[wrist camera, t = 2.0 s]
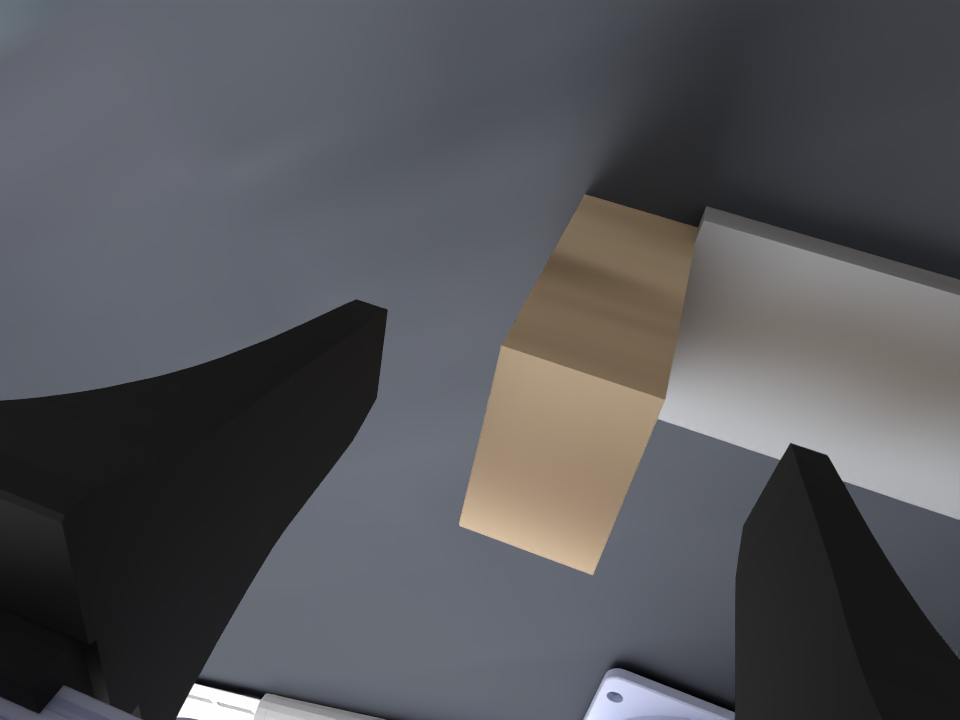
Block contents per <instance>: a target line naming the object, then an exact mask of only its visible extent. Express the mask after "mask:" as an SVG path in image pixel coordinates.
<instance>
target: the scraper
mask: <svg viewBox="0 0 960 720" xmlns="http://www.w3.org/2000/svg"><path fill="white" fill-rule="evenodd" d="M657 419H660V420H663V421H666V422H669V423H672V424H675V425H678V426H681V427H684V428H687V429H690V430H693V431H696V432H699V433H702V434H705V435H708V436H711V437H714V438H717V439H720V440H723V441H726V442H729V443H732V444H735V445H738V446H740V447H743V448H746V449H749V450H752V451H755V452H758V453H761V454H764V455H767V456H770V457H773V458H776V459H779V460H781V458H782V456H783V455H784V453H785V451H786V449H787V448H788V446H789V444H790V443H792V444H796V445H799V446H802V447H805V448H808V449H811V450H814V451H817V452H820V453H823V454H826V455H828V457H829V458H830V460H831V462H832V463H833V465H834V467H835V469H836V470H837V472H838V474H839V476H840V478H841V479H842V481H845V482H848V483H851V484H854V485H857V486H860V487H863V488H866V489H869V490H872V491H875V492H878V493H881V494H884V495H886V496H889V497H892V498H895V499H898V500H901V501H904V502H907V503H910V504H913V505H916V506H919V507H922V508H925V509H928V510H931V511H934V512H937V513H940V514H943V515H946V516H949V517H952V518H955V519H958V520H960V280H959V279H955V278H952V277H948V276H945V275H942V274H938V273H935V272H931V271H928V270H924V269H921V268H917V267H914V266H911V265H907V264H904V263H900V262H897V261H893V260H890V259H887V258H883V257H880V256H876V255H873V254H869V253H866V252H862V251H859V250H856V249H852V248H849V247H845V246H842V245H838V244H835V243H832V242H828V241H825V240H821V239H818V238H814V237H811V236H807V235H804V234H801V233H797V232H794V231H790V230H787V229H783V228H780V227H777V226H773V225H770V224H766V223H763V222H759V221H756V220H752V219H749V218H746V217H742V216H739V215H735V214H732V213H728V212H725V211H721V210H718V209H715V208H711V207H708V206H706V208H705V211H704V213H703V216H702V218H701V221H700V224H699V226H698V227H694V226H691V225H688V224H684V223H681V222H677V221H674V220H671V219H667V218H664V217H661V216H657V215H654V214H650V213H647V212H644V211H640V210H637V209H633V208H630V207H627V206H623V205H620V204H617V203H613V202H610V201H606V200H603V199H600V198H596V197H593V196H589V195H586V194H585V195H584V197H583V198H582V200H581V202H580V204H579V206H578V208H577V209H576V211H575V213H574V215H573V217H572V218H571V220H570V222H569V224H568V226H567V228H566V229H565V231H564V233H563V235H562V237H561V238H560V240H559V242H558V244H557V246H556V248H555V249H554V251H553V253H552V255H551V257H550V258H549V260H548V262H547V264H546V266H545V268H544V269H543V271H542V273H541V275H540V277H539V278H538V280H537V282H536V284H535V286H534V288H533V289H532V291H531V293H530V295H529V297H528V298H527V300H526V302H525V304H524V306H523V307H522V309H521V311H520V313H519V315H518V317H517V318H516V320H515V322H514V324H513V326H512V327H511V329H510V331H509V333H508V335H507V337H506V338H505V340H504V342H503V344H502V346H501V350H500V354H499V358H498V363H497V367H496V371H495V375H494V379H493V384H492V388H491V392H490V396H489V400H488V405H487V409H486V413H485V417H484V421H483V426H482V430H481V434H480V438H479V442H478V447H477V451H476V455H475V459H474V463H473V468H472V472H471V476H470V480H469V484H468V489H467V493H466V497H465V501H464V505H463V510H462V514H461V518H460V522H459V526H462V527H464V528H467V529H470V530H472V531H475V532H478V533H481V534H483V535H486V536H489V537H491V538H494V539H497V540H499V541H502V542H505V543H507V544H510V545H513V546H516V547H518V548H521V549H524V550H526V551H529V552H532V553H534V554H537V555H540V556H542V557H545V558H548V559H551V560H553V561H556V562H559V563H561V564H564V565H567V566H569V567H572V568H575V569H577V570H580V571H583V572H586V573H588V574H591V575H593V573H594V571H595V568H596V566H597V564H598V561H599V559H600V556H601V554H602V552H603V549H604V547H605V544H606V542H607V539H608V537H609V535H610V532H611V530H612V527H613V525H614V523H615V520H616V518H617V515H618V513H619V511H620V508H621V506H622V503H623V501H624V498H625V496H626V494H627V491H628V489H629V486H630V484H631V482H632V479H633V477H634V474H635V472H636V469H637V467H638V465H639V462H640V460H641V457H642V455H643V453H644V450H645V448H646V445H647V443H648V440H649V438H650V436H651V433H652V431H653V428H654V426H655V424H656V421H657Z"/></svg>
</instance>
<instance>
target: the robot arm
mask: <svg viewBox="0 0 960 720" xmlns="http://www.w3.org/2000/svg"><path fill="white" fill-rule="evenodd" d="M387 311H388V310H387V309H384V308H381V307H378V306H375V305H372V304H369V303H366V302H363V301H360V300H357V299H356V300H354V301H352V302H349V303H347V304H345V305H342V306H340V307H338V308H336V309H334V310H332V311H329V312H327V313H325V314H323V315H321V316H319V317H317V318H315V319H312V320H310V321H308V322H306V323H304V324H301V325H299V326H297V327H295V328H292V329H290V330H288V331H286V332H284V333H281V334H279V335H277V336H275V337H272V338H270V339H268V340H265V341H262V342H260V343H257V344H255V345H252V346H250V347H247V348H244V349H242V350H239V351H237V352H234V353H232V354H229V355H226V356H224V357H221V358H218V359H215V360H212V361H209V362H206V363H203V364H200V365H197V366H194V367H190V368H187V369H183V370H180V371H176V372H173V373H169V374H165V375H162V376H158V377H153V378H149V379H144V380H139V381H135V382H130V383H125V384H121V385H116V386H111V387H107V388H101V389H96V390H89V391H83V392H77V393H70V394H62V395H54V396H47V397H38V398H29V399H18V400H3V401H0V720H176V718H177V716H178V714H179V712H180V710H181V708H182V706H183V704H184V703H185V701H186V699H187V697H188V695H189V693H190V691H191V689H192V687H193V685H194V684H195V682H196V680H197V678H198V676H199V674H200V673H201V671H202V669H203V667H204V665H205V663H206V662H207V660H208V658H209V656H210V654H211V653H212V651H213V649H214V647H215V645H216V643H217V642H218V640H219V638H220V636H221V634H222V633H223V631H224V629H225V627H226V626H227V624H228V622H229V620H230V619H231V617H232V615H233V614H234V612H235V610H236V608H237V607H238V605H239V603H240V601H241V600H242V598H243V596H244V594H245V593H246V591H247V589H248V588H249V586H250V584H251V583H252V581H253V579H254V578H255V576H256V574H257V573H258V571H259V569H260V568H261V566H262V564H263V563H264V561H265V560H266V558H267V556H268V555H269V553H270V551H271V550H272V548H273V546H274V545H275V544H276V542H277V541H278V539H279V538H280V536H281V535H282V533H283V532H284V531H285V529H286V528H287V526H288V525H289V524H290V522H291V521H292V520H293V518H294V517H295V516H296V515H297V513H298V512H299V511H300V509H301V508H302V507H303V505H304V504H305V503H306V502H307V500H308V499H309V498H310V496H311V495H312V494H313V492H314V491H315V490H316V488H317V487H318V486H319V485H320V483H321V482H322V481H323V479H324V478H325V477H326V475H327V474H328V473H329V472H330V470H331V469H332V468H333V466H334V465H335V464H336V462H337V461H338V460H339V458H340V457H341V456H342V454H343V453H344V452H345V450H346V449H347V448H348V446H349V445H350V443H351V442H352V441H353V439H354V437H355V436H356V434H357V432H358V430H359V429H360V427H361V425H362V424H363V422H364V420H365V418H366V416H367V415H368V413H369V411H370V409H371V407H372V405H373V404H374V402H375V400H376V398H377V392H378V384H379V376H380V368H381V359H382V351H383V343H384V335H385V327H386V319H387ZM583 720H960V660H959V659H958V657H957V656H956V655H955V654H954V652H953V651H952V650H951V649H950V647H949V646H948V645H947V643H946V642H945V641H944V640H943V638H942V637H941V636H940V635H939V633H938V632H937V631H936V630H935V628H934V627H933V625H932V624H931V623H930V621H929V620H928V619H927V617H926V616H925V615H924V613H923V612H922V610H921V609H920V608H919V606H918V605H917V603H916V602H915V600H914V599H913V597H912V596H911V594H910V593H909V591H908V590H907V588H906V587H905V586H904V584H903V583H902V581H901V580H900V578H899V577H898V575H897V574H896V572H895V570H894V569H893V567H892V566H891V564H890V563H889V561H888V559H887V558H886V556H885V555H884V553H883V551H882V550H881V548H880V546H879V545H878V543H877V541H876V540H875V538H874V536H873V535H872V533H871V531H870V529H869V528H868V526H867V524H866V523H865V521H864V519H863V517H862V516H861V514H860V512H859V510H858V508H857V507H856V505H855V503H854V501H853V499H852V498H851V496H850V494H849V492H848V490H847V489H846V487H845V485H844V483H843V481H842V479H841V478H840V476H839V474H838V472H837V470H836V469H835V467H834V465H833V463H832V462H831V460H830V458H829V457H828V455H826V454H823V453H820V452H817V451H814V450H811V449H808V448H805V447H802V446H799V445H796V444H792V443H790V444H789V446H788V448H787V449H786V451H785V453H784V455H783V456H782V458H781V460H780V462H779V464H778V465H777V467H776V469H775V471H774V472H773V474H772V476H771V478H770V479H769V481H768V483H767V485H766V487H765V488H764V490H763V492H762V494H761V495H760V497H759V499H758V501H757V502H756V504H755V506H754V508H753V509H752V511H751V513H750V515H749V517H748V518H747V520H746V522H745V524H744V525H743V531H742V537H741V544H740V550H739V557H738V565H737V572H736V591H735V712H732V711H730V710H727V709H725V708H722V707H719V706H717V705H714V704H712V703H709V702H707V701H704V700H701V699H699V698H696V697H694V696H691V695H689V694H686V693H683V692H681V691H678V690H676V689H673V688H671V687H668V686H665V685H663V684H660V683H658V682H655V681H653V680H650V679H647V678H645V677H642V676H640V675H637V674H635V673H632V672H629V671H627V670H624V669H620V668H614V669H611V670H608V671H607V672H606V674H605V676H604V678H603V680H602V682H601V684H600V686H599V688H598V690H597V692H596V694H595V696H594V698H593V701H592V703H591V705H590V707H589V709H588V711H587V713H586V715H585V717H584V719H583Z"/></svg>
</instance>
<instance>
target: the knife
mask: <svg viewBox="0 0 960 720" xmlns="http://www.w3.org/2000/svg"><path fill="white" fill-rule="evenodd" d="M177 717H188V718H194V719H200V720H386V719H381V718H377V717H372V716H368V715H363V714H359V713H354V712H349V711H345V710H340V709H336V708H331V707H327V706H322V705H318V704H313V703H309V702H304V701H299V700H295V699H290V698H286V697H282V696H277V695H274V694H269V693H266V694H265V695H264V696H263V698H262V699H257V698H253V697H249V696H245V695H241V694H237V693H233V692H229V691H225V690H221V689H216V688H212V687H208V686H204V685H200V684H196V683H195V684H194V685H193V687H192V689H191V691H190V693H189V695H188V697H187V699H186V701H185V703H184V704H183V706H182V708H181V710H180V712H179V714H178V716H177Z"/></svg>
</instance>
